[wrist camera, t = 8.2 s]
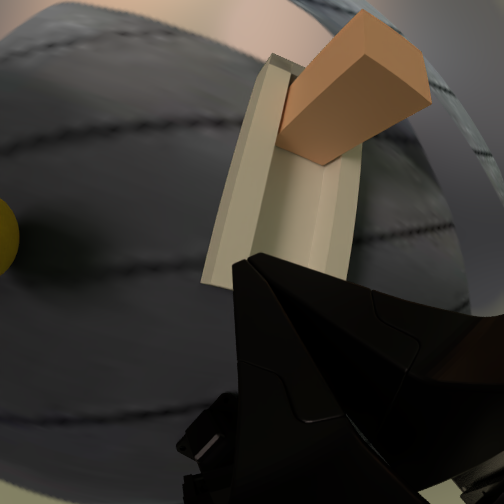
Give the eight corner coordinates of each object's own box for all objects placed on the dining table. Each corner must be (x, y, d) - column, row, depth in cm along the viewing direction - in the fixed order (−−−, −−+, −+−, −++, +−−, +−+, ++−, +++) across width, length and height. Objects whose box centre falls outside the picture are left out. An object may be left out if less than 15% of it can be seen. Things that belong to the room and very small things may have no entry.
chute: (314, 308, 24) (339, 312, 20) (200, 282, 21) (210, 284, 18) (343, 115, 27) (364, 100, 24) (257, 74, 24) (272, 52, 21)
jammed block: (322, 165, 24) (432, 104, 12) (269, 143, 22) (364, 54, 11) (328, 120, 25) (421, 52, 13) (280, 97, 23) (362, 8, 12)
